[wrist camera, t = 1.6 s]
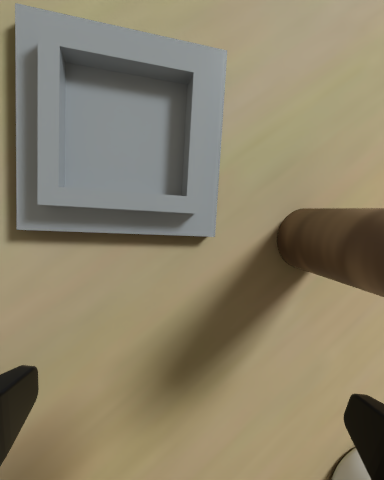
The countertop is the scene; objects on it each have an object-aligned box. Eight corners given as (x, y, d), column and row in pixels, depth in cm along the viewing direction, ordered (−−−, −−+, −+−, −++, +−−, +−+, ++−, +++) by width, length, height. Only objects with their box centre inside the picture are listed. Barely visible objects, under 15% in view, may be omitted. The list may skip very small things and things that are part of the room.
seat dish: (209, 235, 20) (223, 239, 17) (24, 228, 17) (5, 232, 14) (220, 60, 19) (237, 35, 16) (22, 18, 15) (2, -22, 13)
